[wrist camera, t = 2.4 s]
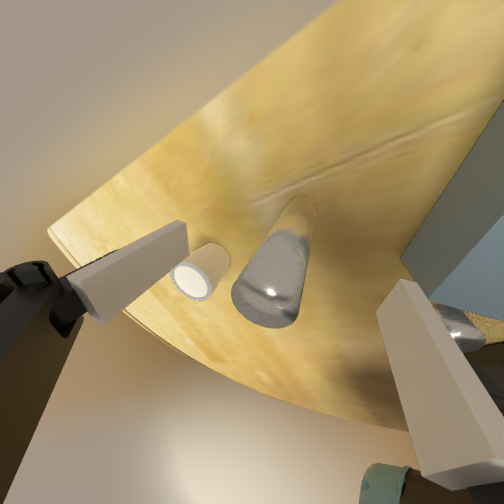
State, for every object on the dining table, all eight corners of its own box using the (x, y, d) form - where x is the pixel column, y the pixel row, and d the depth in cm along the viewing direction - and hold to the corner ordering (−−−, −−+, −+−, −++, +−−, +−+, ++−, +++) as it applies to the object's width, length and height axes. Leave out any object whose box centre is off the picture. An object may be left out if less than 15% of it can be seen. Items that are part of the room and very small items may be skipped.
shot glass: (241, 264, 29) (221, 292, 24) (216, 279, 33) (193, 306, 28) (214, 231, 28) (185, 253, 23) (191, 251, 32) (161, 273, 26)
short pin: (436, 311, 22) (467, 357, 17) (404, 301, 23) (424, 343, 18) (457, 290, 20) (497, 335, 15) (420, 280, 21) (448, 321, 16)
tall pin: (312, 226, 22) (289, 337, 10) (284, 220, 23) (229, 314, 10) (320, 198, 21) (307, 288, 8) (290, 193, 21) (232, 265, 8)
